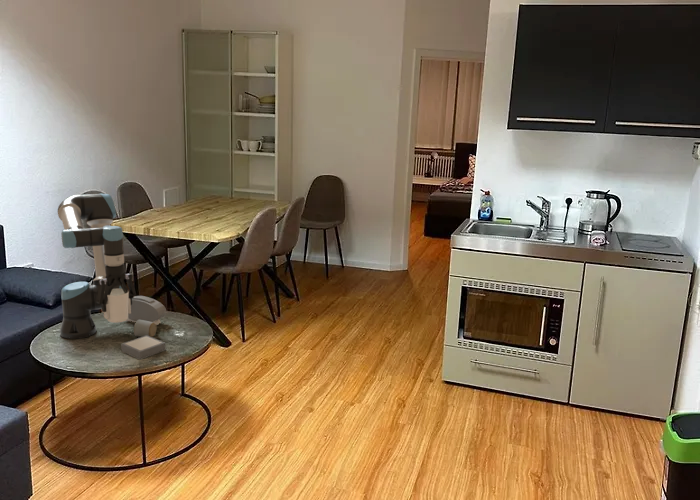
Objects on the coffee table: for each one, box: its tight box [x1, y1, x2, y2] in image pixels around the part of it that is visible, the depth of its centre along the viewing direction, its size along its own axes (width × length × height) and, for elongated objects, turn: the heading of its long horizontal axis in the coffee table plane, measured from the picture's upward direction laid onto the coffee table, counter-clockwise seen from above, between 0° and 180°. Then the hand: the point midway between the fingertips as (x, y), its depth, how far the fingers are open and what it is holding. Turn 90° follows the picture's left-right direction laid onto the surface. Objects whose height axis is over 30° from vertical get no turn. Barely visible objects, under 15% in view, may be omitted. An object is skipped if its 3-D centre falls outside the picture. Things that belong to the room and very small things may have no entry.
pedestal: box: [120, 335, 167, 360], centre depth 269 cm, size 13×13×4 cm
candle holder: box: [107, 289, 129, 324], centre depth 259 cm, size 10×10×12 cm
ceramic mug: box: [133, 320, 157, 338], centre depth 285 cm, size 11×8×8 cm
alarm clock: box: [125, 295, 167, 326], centre depth 301 cm, size 23×6×13 cm, turn 69°
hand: (117, 315), depth 260 cm, fingers closed on candle holder, 9 cm apart
